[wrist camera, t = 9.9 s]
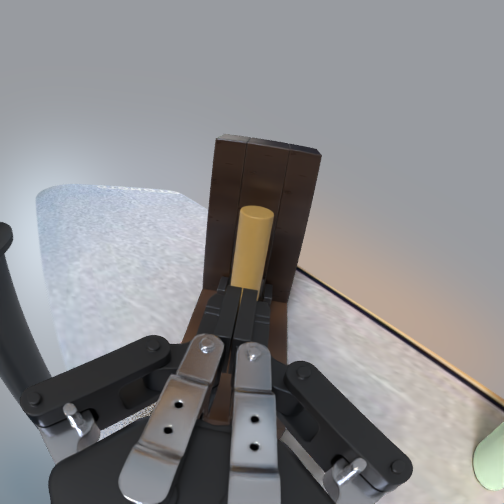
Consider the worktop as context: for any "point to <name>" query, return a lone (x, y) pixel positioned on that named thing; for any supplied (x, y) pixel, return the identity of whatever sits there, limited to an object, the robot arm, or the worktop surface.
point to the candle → (491, 460)
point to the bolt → (251, 247)
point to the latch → (281, 238)
